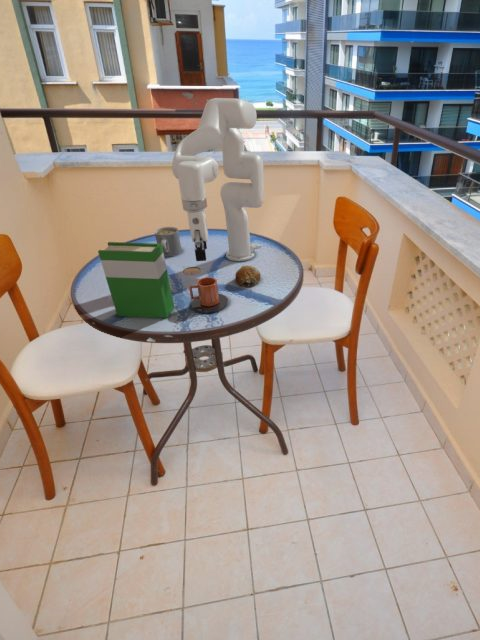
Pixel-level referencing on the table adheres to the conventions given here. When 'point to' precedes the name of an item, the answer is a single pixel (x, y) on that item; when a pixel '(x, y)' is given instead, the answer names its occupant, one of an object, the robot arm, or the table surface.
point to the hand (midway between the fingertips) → (201, 254)
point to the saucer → (210, 309)
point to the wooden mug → (206, 291)
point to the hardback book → (137, 279)
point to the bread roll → (247, 276)
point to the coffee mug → (169, 240)
